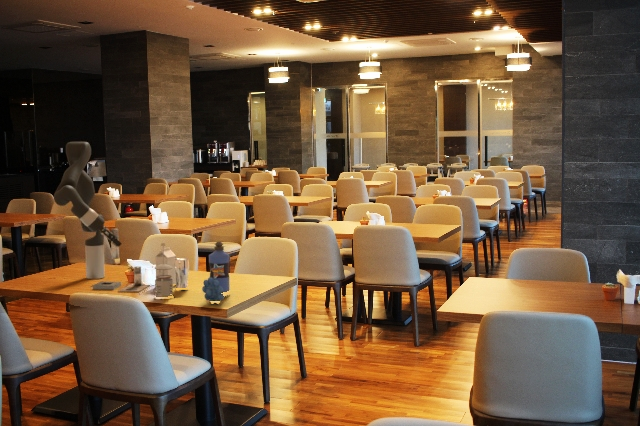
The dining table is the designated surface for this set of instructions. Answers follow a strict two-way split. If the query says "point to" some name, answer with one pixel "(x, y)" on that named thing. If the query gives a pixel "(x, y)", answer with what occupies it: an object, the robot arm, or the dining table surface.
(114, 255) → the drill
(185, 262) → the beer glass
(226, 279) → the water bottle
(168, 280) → the french press
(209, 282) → the grapes
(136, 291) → the rack
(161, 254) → the milk carton
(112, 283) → the socket block
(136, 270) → the short bit
